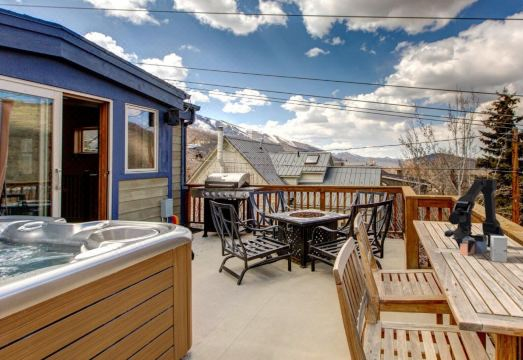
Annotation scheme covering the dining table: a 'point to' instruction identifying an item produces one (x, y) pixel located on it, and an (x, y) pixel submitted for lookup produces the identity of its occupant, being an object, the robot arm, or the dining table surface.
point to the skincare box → (498, 248)
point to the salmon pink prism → (465, 248)
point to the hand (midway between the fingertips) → (465, 251)
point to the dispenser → (478, 246)
